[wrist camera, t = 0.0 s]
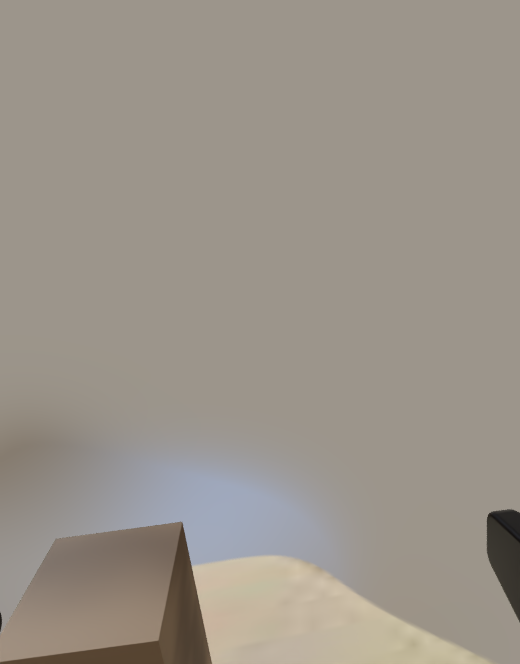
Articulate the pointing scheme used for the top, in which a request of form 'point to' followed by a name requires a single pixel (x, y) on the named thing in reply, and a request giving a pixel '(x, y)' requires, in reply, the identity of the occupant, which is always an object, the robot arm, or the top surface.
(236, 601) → the top surface
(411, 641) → the top surface
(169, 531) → the walnut block
